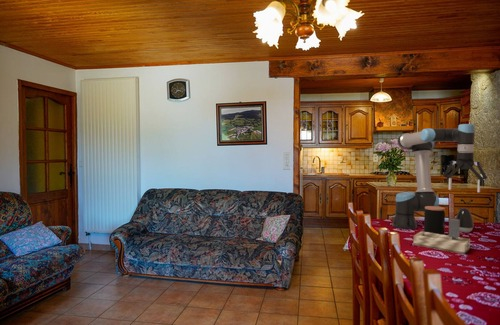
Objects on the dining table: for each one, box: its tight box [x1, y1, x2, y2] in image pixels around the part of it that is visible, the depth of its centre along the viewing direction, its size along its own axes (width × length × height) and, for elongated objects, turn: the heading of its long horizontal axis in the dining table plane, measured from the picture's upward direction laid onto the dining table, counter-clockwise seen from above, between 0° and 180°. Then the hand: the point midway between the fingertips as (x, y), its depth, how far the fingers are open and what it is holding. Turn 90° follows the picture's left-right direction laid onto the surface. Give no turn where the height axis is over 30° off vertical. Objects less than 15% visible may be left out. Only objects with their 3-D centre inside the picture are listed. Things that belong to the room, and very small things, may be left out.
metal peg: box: [448, 218, 460, 240], centre depth 174 cm, size 5×5×14 cm
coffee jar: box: [423, 206, 446, 235], centre depth 197 cm, size 11×11×18 cm
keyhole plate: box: [412, 230, 471, 255], centre depth 178 cm, size 24×14×5 cm, turn 47°
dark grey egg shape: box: [455, 207, 474, 233], centre depth 211 cm, size 10×10×15 cm
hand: (463, 190), depth 182 cm, fingers open, 13 cm apart
